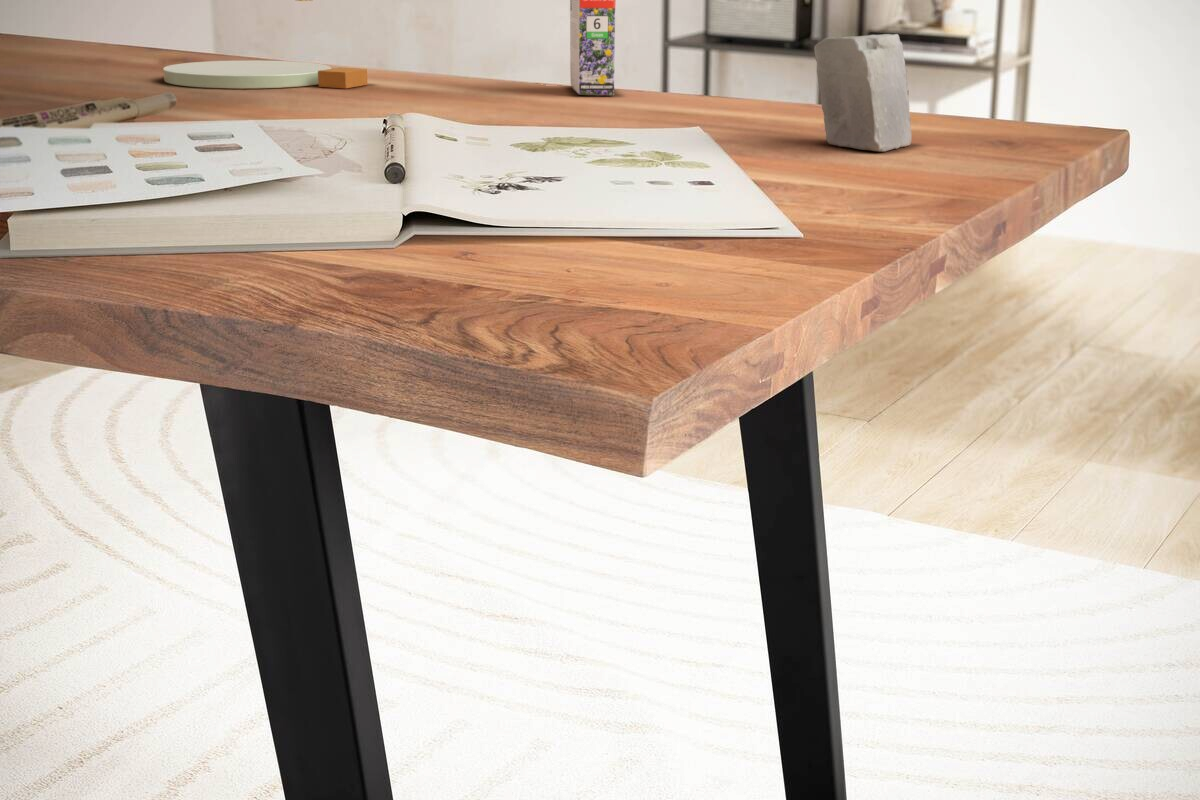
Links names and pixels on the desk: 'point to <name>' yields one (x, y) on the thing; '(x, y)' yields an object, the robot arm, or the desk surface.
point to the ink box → (592, 46)
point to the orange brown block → (342, 77)
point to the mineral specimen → (864, 92)
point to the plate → (243, 74)
